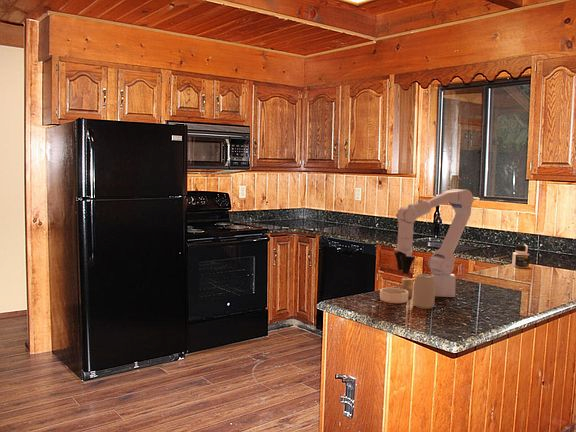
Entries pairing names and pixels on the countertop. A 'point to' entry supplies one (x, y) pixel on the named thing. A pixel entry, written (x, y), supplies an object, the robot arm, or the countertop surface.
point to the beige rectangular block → (407, 286)
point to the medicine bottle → (521, 256)
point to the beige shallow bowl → (393, 295)
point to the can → (424, 291)
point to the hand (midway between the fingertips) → (403, 271)
